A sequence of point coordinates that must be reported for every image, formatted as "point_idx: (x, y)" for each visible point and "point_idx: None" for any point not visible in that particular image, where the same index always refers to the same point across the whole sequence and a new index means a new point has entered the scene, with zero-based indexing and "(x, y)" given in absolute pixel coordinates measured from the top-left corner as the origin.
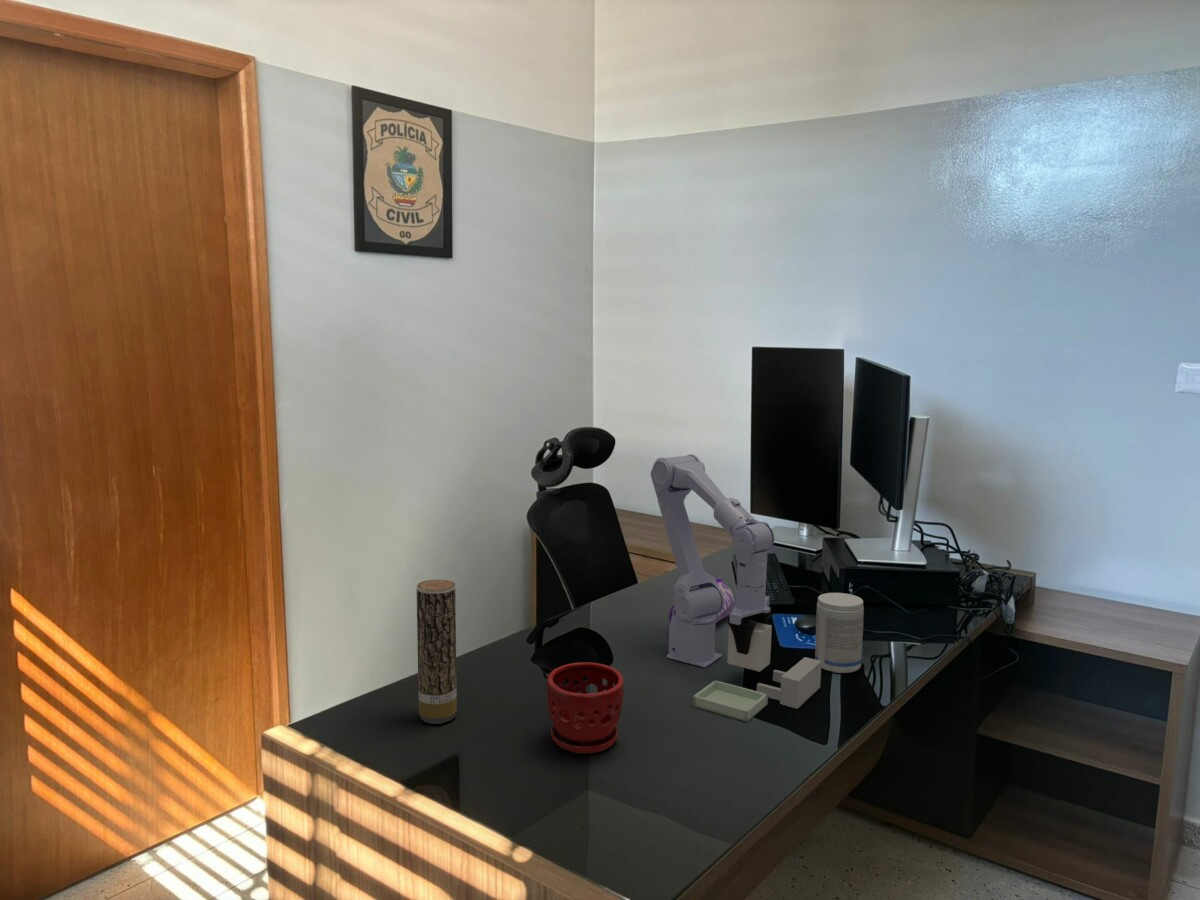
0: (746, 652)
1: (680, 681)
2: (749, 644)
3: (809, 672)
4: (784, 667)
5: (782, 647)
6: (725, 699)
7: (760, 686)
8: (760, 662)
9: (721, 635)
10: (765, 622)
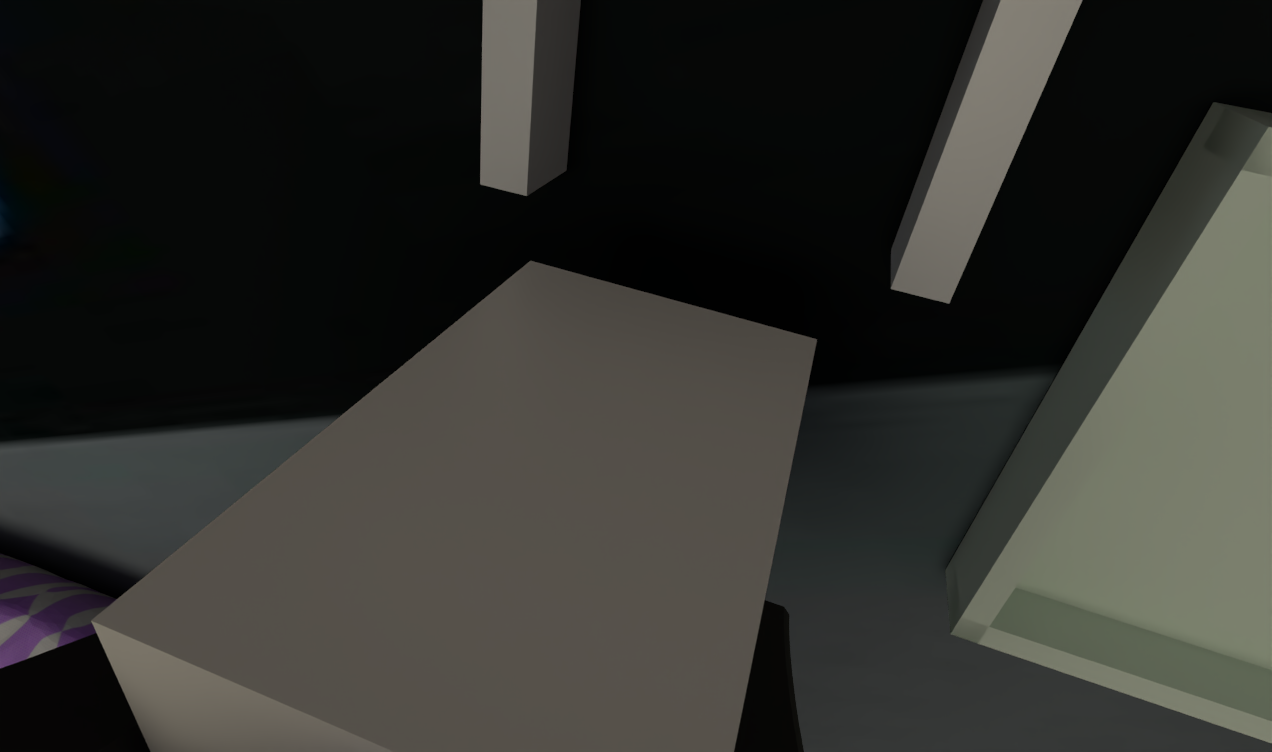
0: (786, 634)
1: (863, 735)
2: (757, 718)
3: None
4: (264, 128)
5: (3, 213)
6: (1223, 510)
7: (966, 258)
8: (790, 394)
9: (151, 545)
10: (75, 719)
